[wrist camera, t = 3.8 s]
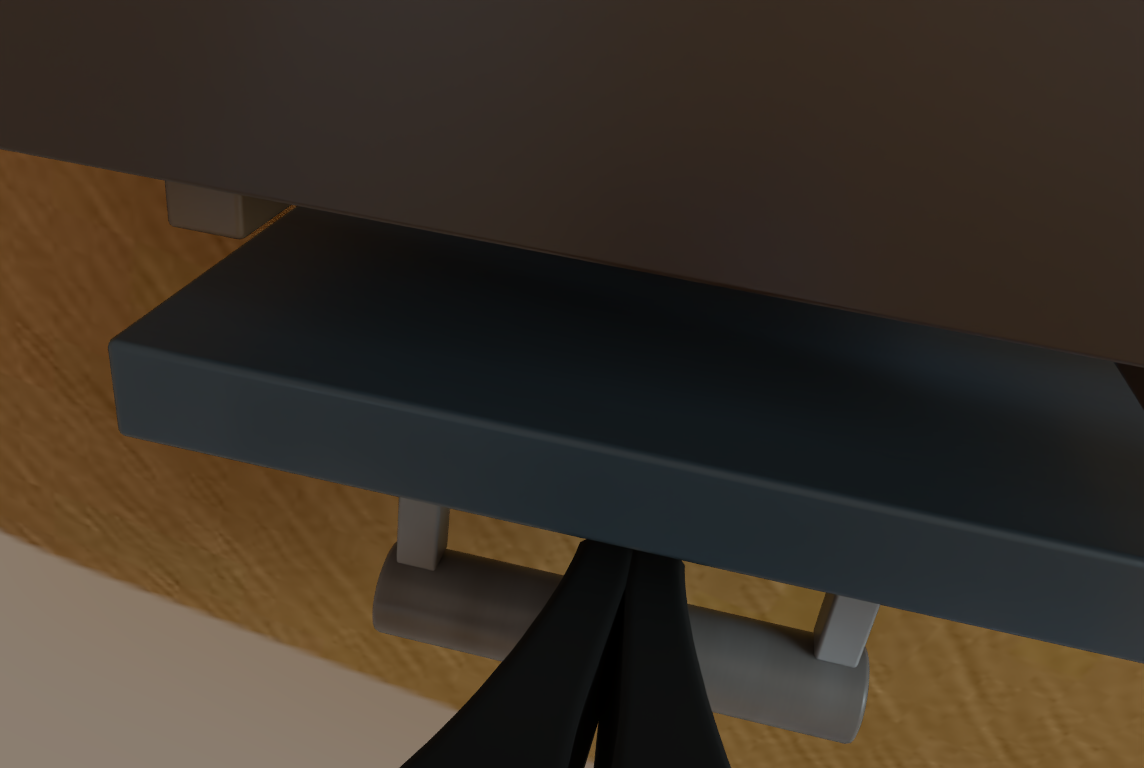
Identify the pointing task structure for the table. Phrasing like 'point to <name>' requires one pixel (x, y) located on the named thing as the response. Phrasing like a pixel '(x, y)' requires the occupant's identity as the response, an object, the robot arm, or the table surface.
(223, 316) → the drawer
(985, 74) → the cabinet
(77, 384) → the table surface
